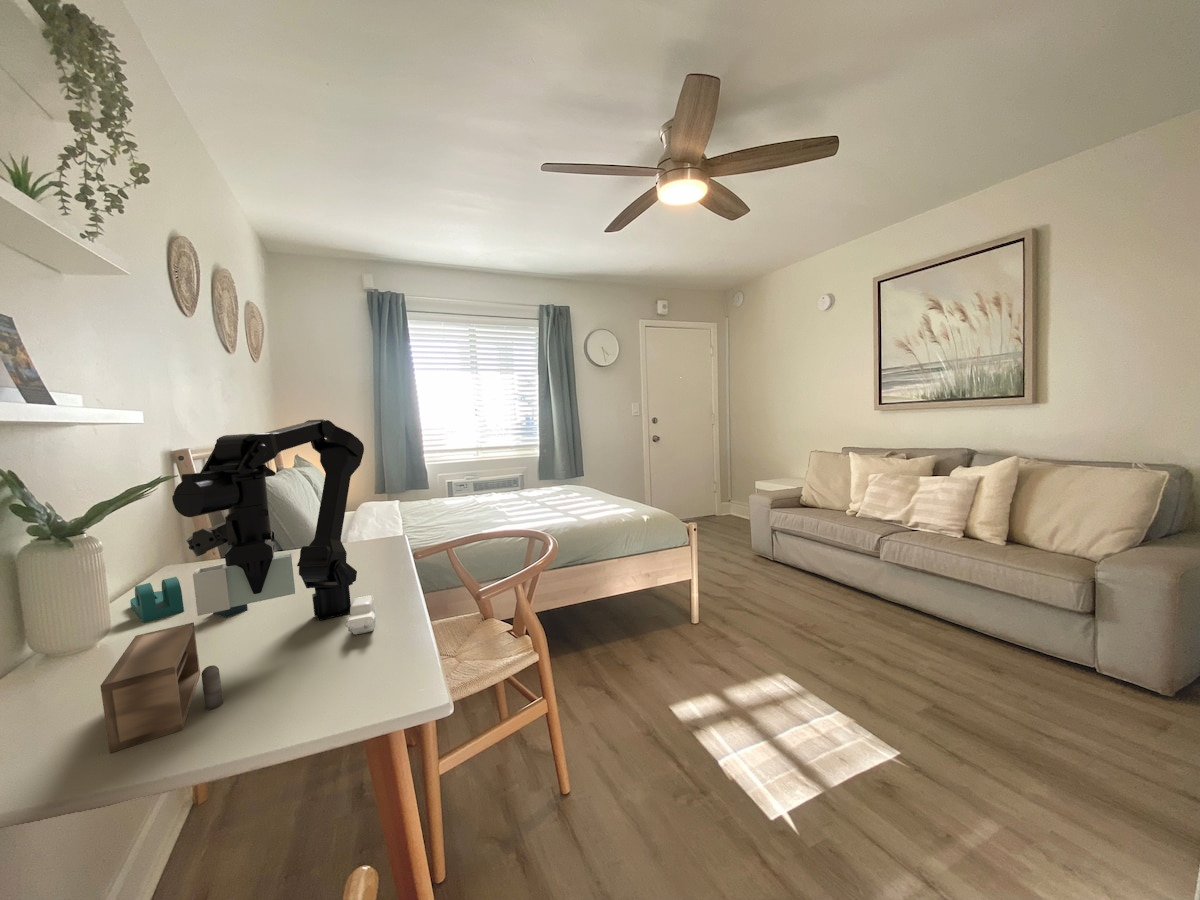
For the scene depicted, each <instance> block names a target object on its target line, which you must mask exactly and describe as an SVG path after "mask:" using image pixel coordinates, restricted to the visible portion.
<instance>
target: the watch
mask: <svg viewBox="0 0 1200 900" xmlns="http://www.w3.org/2000/svg"><path fill="white" fill-rule="evenodd" d="M248 610H249V609H248V604H245V605H240V606H235V607H231V608H230V609H228V610H223V611H219V612H214V613H212V614H213V615H215V616H219V617H221V618H224V619H225V618H228V617H231V616H235V615H238V614H240V613H243V612H247V611H248Z"/></svg>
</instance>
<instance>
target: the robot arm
mask: <svg viewBox="0 0 1200 900" xmlns="http://www.w3.org/2000/svg"><path fill="white" fill-rule="evenodd" d="M308 443H310V444H311V448H312V449H313V450H315V452H317V453H318V454H320V455H319V463H320V465H321V466H322V469H323V471H324V472H325V474H324V476H325V477H324V482H323V487H322V493H321V500H320V505H319V511H318V516H317V521H316V522H317V523H316V528H315V532H314V533H315V534H314V538H313V539H312V541H311V542H310V543H309V545H303V546H301V548H300V551H299V558H298V563H296V564H297V565H296V567H298V576H300V578H301V579H302V581H303V584H304V586H305V588H306V589H314V593H312V594H311V597H312V605H313V614H314V616H315V617H317V621H323V620H327V619H332V618H334V617H339V616H342V615H346V614H350V607H351V604H352V601H351V592H350V586H352V585H353V583H354V582H356V580H357V575H358V574H357V573H358V571H357V570H356V569H355V568H354V567H353V566H351V565H350V564H349V563H347V555H348V554H347V551H346V548H345V547H344V544H343V542H342V533H343V528H344V522H345V521H344V520H345V517H346V515H345V514H346V509H347V502H348V495H349V489H350V483H351V482H350V481H351V477H352V476H353V474H354V473H355V472H356V471H357V470H358V468H359V467H360V466H361V464H362V459H363V456H364V452H365V447H364V443H363V442H362V441H361V440H360V439H359V437H357V436H356V435H354V434H353V433H352V432H350V431H348V430H345V429H343V428H341V427H339V426H338V425H336V424H335V423H334V422H332V421H330V420H328V419H325V418H323V419H320V418H319V419H308V420H306V421H304V422H302V423H297V424H293V425H290V426H286V427H282V428H278V429H275V430H270V431H267V432H260V433H241V434H226V435H221V436H219V437H218V438H217V439H216V441H215V444H214V449H213V450H212V452H211V453H210V455H209V457H208V459H207V460H206V462H205V464H204V466H203V467H202V469H201V470H200V472H190V473H189V472H188V473H182V474H181V482H180V483H179V484H178V485H176V487H175V489H174V491H173V495H172V499H171V500H172V504H173V506H174V508H175V510H176V512H178V513H179V514H180V515H182V517H185V518H194V517H198V516H204V515H208V514H213V513H217V512H223V511H228V512H227V514H226V516H225V517H224V521H222V522H221V523H219V524H216V525H214V526H212V527H210V528H207V527H204V526H203V527H202V528H201V529H199V530H195V531H193V533H192V534H191V536H189V537H188V538H187V539H186V543H187V544H188V549H189V550H191V551H192V552H193V553H194V555H195V556H196V557H200V556H203V555H205V554H206V553H207V552H209V551H211V550H213V549H215V548H218V547H220V546H222V545H224V544H226V543H227V547H228V546H230V547H229V548H228V549H227V550H226V552H225V554H224V560H225V564H226V566H234V565H236V566H238V567H240V568H242V569H243V571H244V573H245V575H246V577H247V580H248V582H249V585H250V587H251V589H252V592H253V594H259V593H261V592H262V589H263V585H264V582H265V579H266V576H267V574H268V571H269V568H270V565H271V562H272V559H273V556H275V552H274V551H275V545H274V544H273V542H275V541H276V531H275V529H274V528H273V527H272V526H271V518H270V514H271V513H270V506H269V499H268V489H267V479H266V478H268V477H274V476H276V471H274V470H273V469H272V468H269V467H268V466H267V465H266V464H267V463H268V462H270V461H272V460H274V459H275V458H276V457H277V456H278V454H279V453H281V452H283V451H286V450H289V449H292V448H295V447H298V446H302V445H304V444H308Z"/></svg>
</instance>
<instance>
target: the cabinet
mask: <svg viewBox="0 0 1200 900" xmlns="http://www.w3.org/2000/svg"><path fill="white" fill-rule="evenodd" d="M196 637H197V636H196V630H195V622H190V623H186V624H180V625H177V626H176V625H175V626H172V627H167V628H163V629H160V630H155V631H150V632H145V633H142V634H137V635H135V636H134V638H133V639H132V640H131V642H130V643H129V645H128V646H127V647H126V649H125V651H123V653H122V655H121V656H120V658H118V660H117V662H116V663H115V664H114V665H113V667H112V669H111V670H110V672H109V673H108V674H107V676H106V677H105V679H103V681H102V683H101V684H100V693H101V700H102V706H103V707H102V708H103V713H104V721H105V727H106V728H105V729H106V734H107V735H106V736H107V741H108V748H109V753H110V754H112V753H115V752H118V751H122V750H124V749H128V748H131V747H134V746H137V745H140V744H143V743H146V742H149V741H153V740H155V739H158V738H162V737H164V736H167V735H171V734H173V733H177V732H180V731H183V729H184V727H185V723H186V720H187V717H188V714H189V711H190V707H191V704H192V701H193V699H194V695H195V692H196V689H197V687H198V683H199V679H200V676H201V683H202V691H203V699H204V706H205V710H206V711H207V710H208V711H210V710H213V709H217V708H219V707H221V706H222V705H223V704H224V698H223V691H222V682H221V675H220V674H221V673H220V669H219V667H218V666H217V665H209V666H207V667H205V668H203V670H202V672H201V669H200V662H199V654H198V645H197V638H196Z"/></svg>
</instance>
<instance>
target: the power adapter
mask: <svg viewBox="0 0 1200 900" xmlns="http://www.w3.org/2000/svg"><path fill="white" fill-rule="evenodd" d="M375 608H376V607H375V599H374V596H373V595H365V596H358V597H355V598H353V599H352V601H351V607H350V613H349V616H348V618H347V619H346V621H345V622H346V623H345V627H346V628H347V631H348V632H349V633H351V632H352V635H360V634H367V633H369V632H372V631H374V629H375V624H376V609H375Z"/></svg>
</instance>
